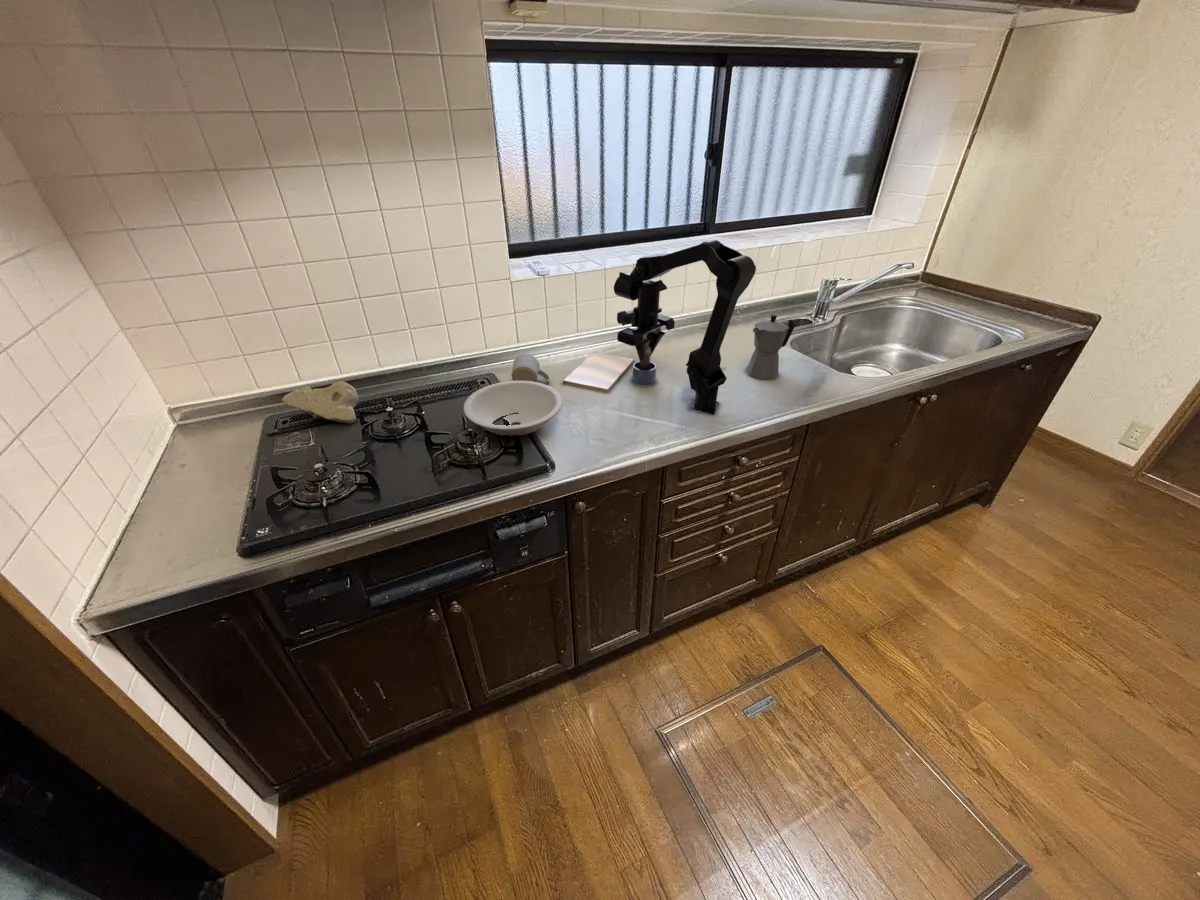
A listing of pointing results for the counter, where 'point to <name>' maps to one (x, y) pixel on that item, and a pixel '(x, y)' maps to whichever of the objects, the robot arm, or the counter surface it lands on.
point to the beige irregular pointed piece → (326, 401)
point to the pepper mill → (645, 360)
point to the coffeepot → (768, 347)
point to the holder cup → (644, 374)
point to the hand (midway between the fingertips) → (645, 358)
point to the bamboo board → (599, 371)
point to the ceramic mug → (528, 369)
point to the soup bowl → (513, 406)
